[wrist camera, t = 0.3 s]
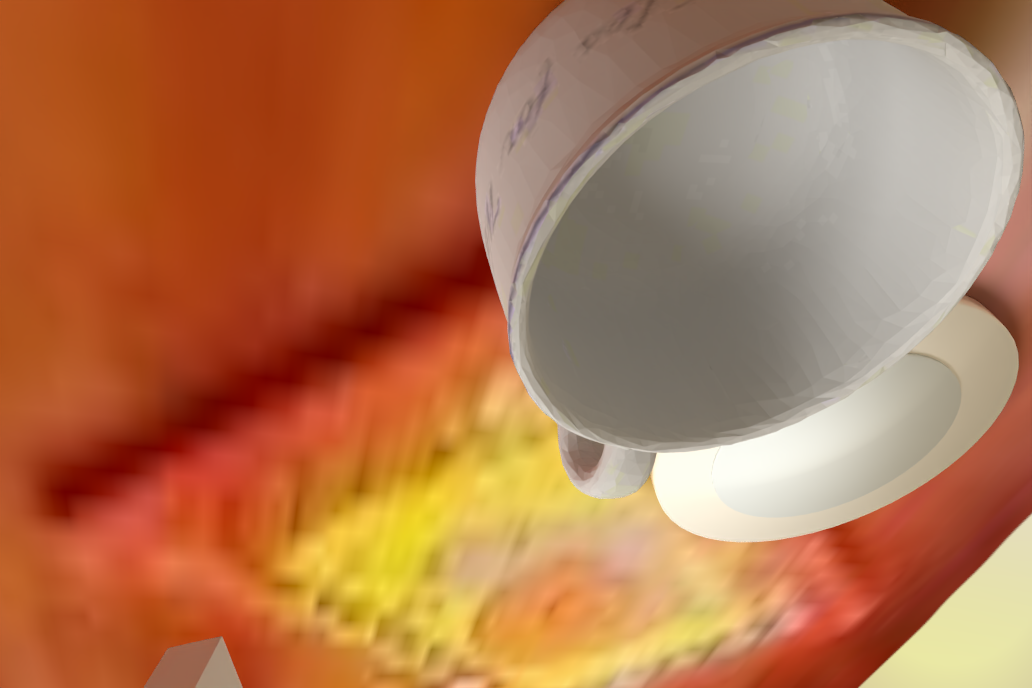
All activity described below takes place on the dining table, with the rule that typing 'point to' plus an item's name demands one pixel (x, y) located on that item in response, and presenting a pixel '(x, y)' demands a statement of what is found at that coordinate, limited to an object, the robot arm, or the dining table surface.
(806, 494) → the saucer
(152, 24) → the dining table surface
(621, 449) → the teacup
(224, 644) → the robot arm
